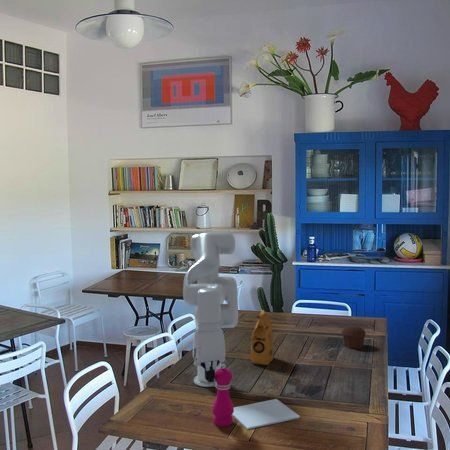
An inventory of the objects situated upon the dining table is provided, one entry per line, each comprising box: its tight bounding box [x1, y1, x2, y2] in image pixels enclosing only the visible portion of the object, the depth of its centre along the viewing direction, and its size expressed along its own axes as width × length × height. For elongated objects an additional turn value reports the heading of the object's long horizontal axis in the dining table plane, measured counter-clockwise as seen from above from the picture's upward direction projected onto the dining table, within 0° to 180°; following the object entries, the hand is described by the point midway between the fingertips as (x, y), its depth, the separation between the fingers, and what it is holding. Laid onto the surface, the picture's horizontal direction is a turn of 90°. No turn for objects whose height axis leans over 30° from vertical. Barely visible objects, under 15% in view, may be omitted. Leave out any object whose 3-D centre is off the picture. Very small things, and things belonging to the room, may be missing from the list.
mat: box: [231, 398, 301, 430], centre depth 182 cm, size 16×20×1 cm
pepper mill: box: [211, 363, 235, 428], centre depth 175 cm, size 7×7×20 cm
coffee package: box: [250, 309, 274, 366], centre depth 236 cm, size 10×12×22 cm
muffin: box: [340, 324, 366, 350], centre depth 256 cm, size 12×11×10 cm
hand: (209, 380), depth 172 cm, fingers closed
